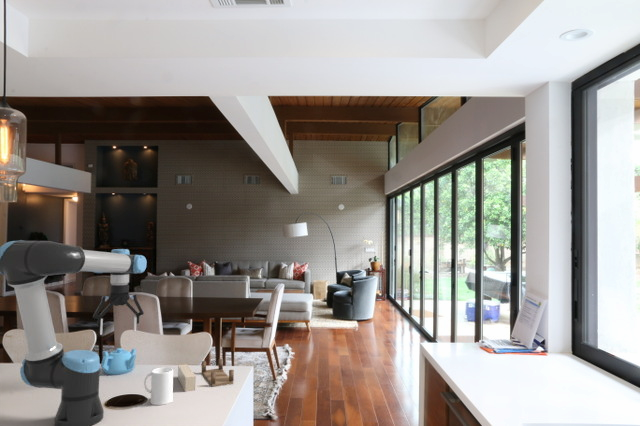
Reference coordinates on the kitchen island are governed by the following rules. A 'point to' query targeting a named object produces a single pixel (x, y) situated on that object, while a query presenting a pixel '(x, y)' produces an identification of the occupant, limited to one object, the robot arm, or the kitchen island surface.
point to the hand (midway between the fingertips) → (118, 332)
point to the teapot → (118, 361)
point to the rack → (218, 375)
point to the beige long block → (186, 377)
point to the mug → (161, 386)
